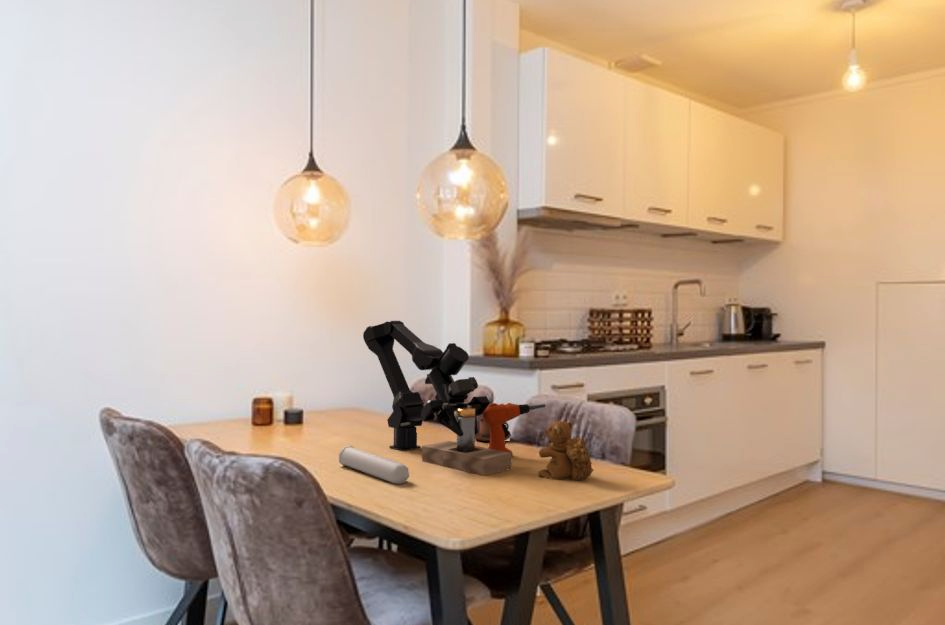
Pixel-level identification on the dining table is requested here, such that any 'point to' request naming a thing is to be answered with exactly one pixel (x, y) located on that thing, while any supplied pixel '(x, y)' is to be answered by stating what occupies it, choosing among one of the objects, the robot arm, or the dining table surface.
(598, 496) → the dining table surface
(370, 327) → the robot arm
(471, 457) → the grey hollow block
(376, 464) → the tube
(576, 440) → the stuffed squirrel
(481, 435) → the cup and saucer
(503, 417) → the toy drill
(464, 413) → the metallic cylinder
